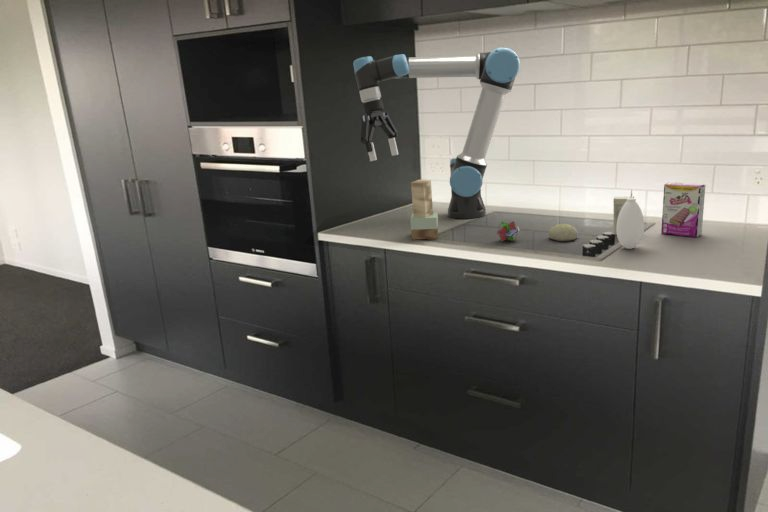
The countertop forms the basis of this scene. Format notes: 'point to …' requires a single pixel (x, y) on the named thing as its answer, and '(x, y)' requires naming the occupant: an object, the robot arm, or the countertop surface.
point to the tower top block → (424, 222)
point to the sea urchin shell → (563, 232)
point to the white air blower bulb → (630, 224)
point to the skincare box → (618, 209)
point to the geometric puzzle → (508, 231)
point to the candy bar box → (683, 209)
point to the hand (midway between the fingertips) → (384, 158)
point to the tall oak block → (422, 198)
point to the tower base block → (425, 234)
